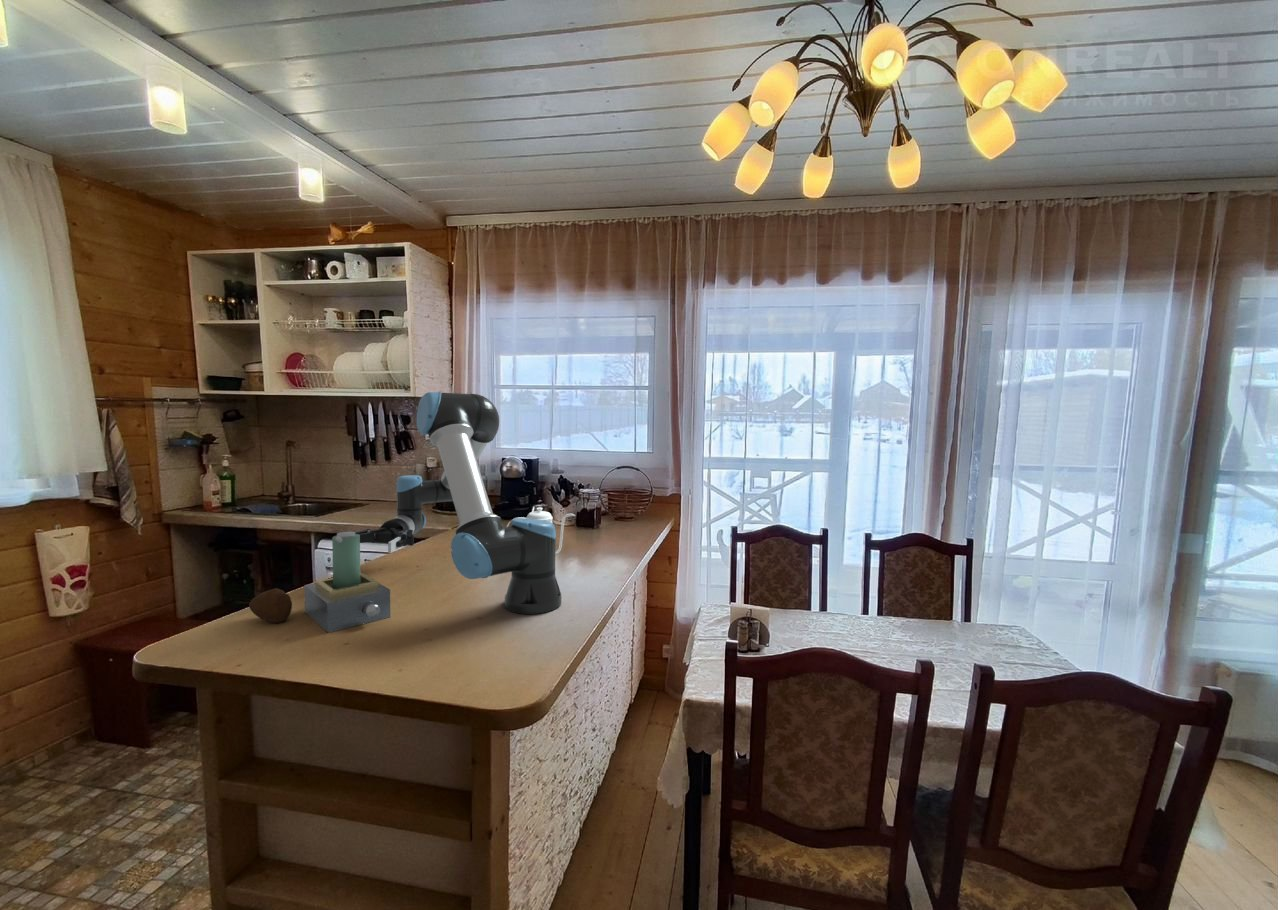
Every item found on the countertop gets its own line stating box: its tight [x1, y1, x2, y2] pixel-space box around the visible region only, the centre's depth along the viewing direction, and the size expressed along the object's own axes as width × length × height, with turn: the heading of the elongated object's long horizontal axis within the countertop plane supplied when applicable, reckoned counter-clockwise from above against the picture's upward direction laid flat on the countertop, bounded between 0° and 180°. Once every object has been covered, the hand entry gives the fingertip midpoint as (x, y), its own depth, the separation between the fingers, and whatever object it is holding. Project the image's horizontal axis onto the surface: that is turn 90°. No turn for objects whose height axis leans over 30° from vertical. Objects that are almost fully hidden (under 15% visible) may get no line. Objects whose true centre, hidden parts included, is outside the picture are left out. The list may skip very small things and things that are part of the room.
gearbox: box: [304, 572, 391, 633], centre depth 130 cm, size 21×14×8 cm, turn 47°
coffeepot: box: [506, 507, 576, 555], centre depth 185 cm, size 11×25×19 cm, turn 84°
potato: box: [248, 587, 293, 624], centre depth 126 cm, size 7×10×8 cm
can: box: [331, 531, 361, 589], centre depth 130 cm, size 7×6×14 cm
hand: (363, 547), depth 139 cm, fingers open, 13 cm apart
